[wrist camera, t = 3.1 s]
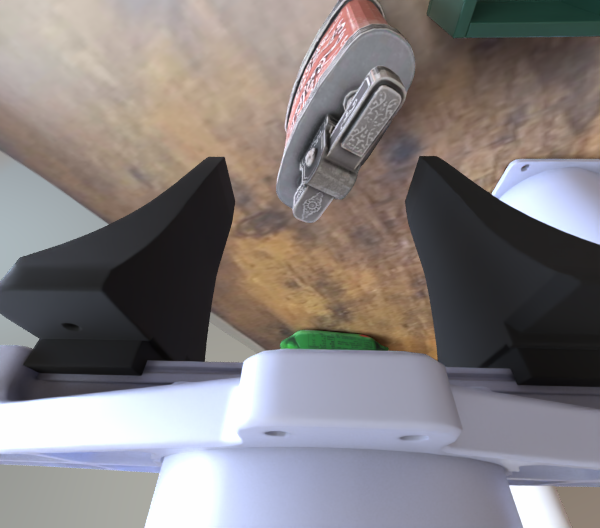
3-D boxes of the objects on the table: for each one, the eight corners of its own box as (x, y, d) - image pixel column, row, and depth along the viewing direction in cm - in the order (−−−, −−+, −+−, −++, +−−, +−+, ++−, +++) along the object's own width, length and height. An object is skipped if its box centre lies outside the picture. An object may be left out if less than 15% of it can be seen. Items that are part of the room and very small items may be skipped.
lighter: (319, 148, 20) (321, 256, 14) (274, 125, 19) (255, 231, 13) (398, 14, 15) (464, 92, 8) (342, -29, 14) (367, 23, 7)
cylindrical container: (510, 372, 51) (599, 580, 35) (508, 384, 56) (586, 572, 40) (465, 377, 54) (529, 573, 38) (468, 389, 59) (525, 566, 43)
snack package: (279, 319, 39) (275, 357, 36) (389, 333, 41) (395, 370, 38) (273, 341, 45) (270, 376, 41) (370, 352, 47) (374, 386, 43)
